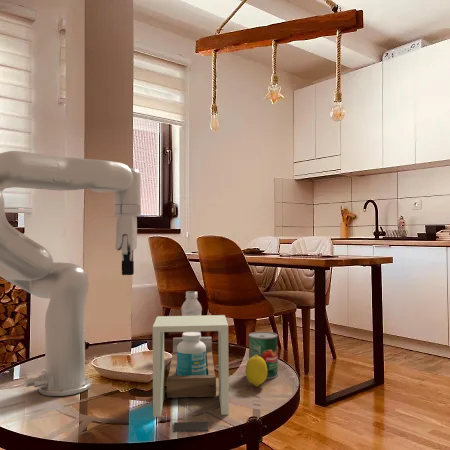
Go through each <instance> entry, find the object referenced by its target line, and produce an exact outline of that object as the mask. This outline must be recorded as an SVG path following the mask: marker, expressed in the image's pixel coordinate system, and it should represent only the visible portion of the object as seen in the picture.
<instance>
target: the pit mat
mask: <svg viewBox="0 0 450 450" xmlns="http://www.w3.org/2000/svg"><path fill="white" fill-rule="evenodd" d="M190 432H193V433H194V432H195V433H196V432H209V421H208V420H207V421H205V420H204V421H180V422H179V421H177V422H173V427H172V433H190Z"/></svg>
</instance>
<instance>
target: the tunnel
mask: <svg viewBox="0 0 450 450" xmlns="http://www.w3.org/2000/svg"><path fill="white" fill-rule="evenodd" d="M190 331H201V332H218V333H217V334H218V336H217V337H218V339H217V340H218V341H217V342H218V345H217V347H218V349H217V353H218V355H217V357H218V398H219V406H220V407H219V408H220V413H221V416H224V415H228V416H229V415H230V401H229V400H230V395H229V394H230V392H229V391H230V388H229V385H230V381H229V380H230V378H229V377H230V376H229V375H230V373H229V369H230V368H229V367H230V365H229V362H230V361H229V324H228V321H227V317H226V315H225V314H219V315H218V314H217V315H216V314H215V315H213V314H212V315H208V314H206V315H201V316H182V315H167V316H166V315H164V316H161V315H159V316H156V318H155V321H154V323H153V325H152V417H154V418H158V417H159V418H160V417H162V412H163V407H164V400H165V333H182V332H190Z"/></svg>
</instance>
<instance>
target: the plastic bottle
mask: <svg viewBox="0 0 450 450" xmlns="http://www.w3.org/2000/svg"><path fill="white" fill-rule="evenodd" d="M198 298H199V296H198V291H195V290H194V291H193V290H190V291H189V290H188V291H185V301H183V304H182V305H181V308H180V310H181V316H202V311H203V307H202V305H201V303H200V302H199V300H198ZM190 332H198V333H200V334H201V335H202V333H201V332H202V331H190ZM183 333H186V332H183ZM183 333H182V334H183Z"/></svg>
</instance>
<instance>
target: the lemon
mask: <svg viewBox="0 0 450 450" xmlns="http://www.w3.org/2000/svg"><path fill="white" fill-rule="evenodd" d="M245 376H246V379H247V380H248V382H249V383H250V384H253V386H254V387H256V388H257V387H259V386H260V385H262V384H263V383H264V382H265V381H266V380H267V379H266V377H267V365H266V362H265V360H264V359H263V358H261V357H259V356H258V355H255V356H253V357H251V358H250V359H249V358H248V360H247V362H246V365H245Z"/></svg>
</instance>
